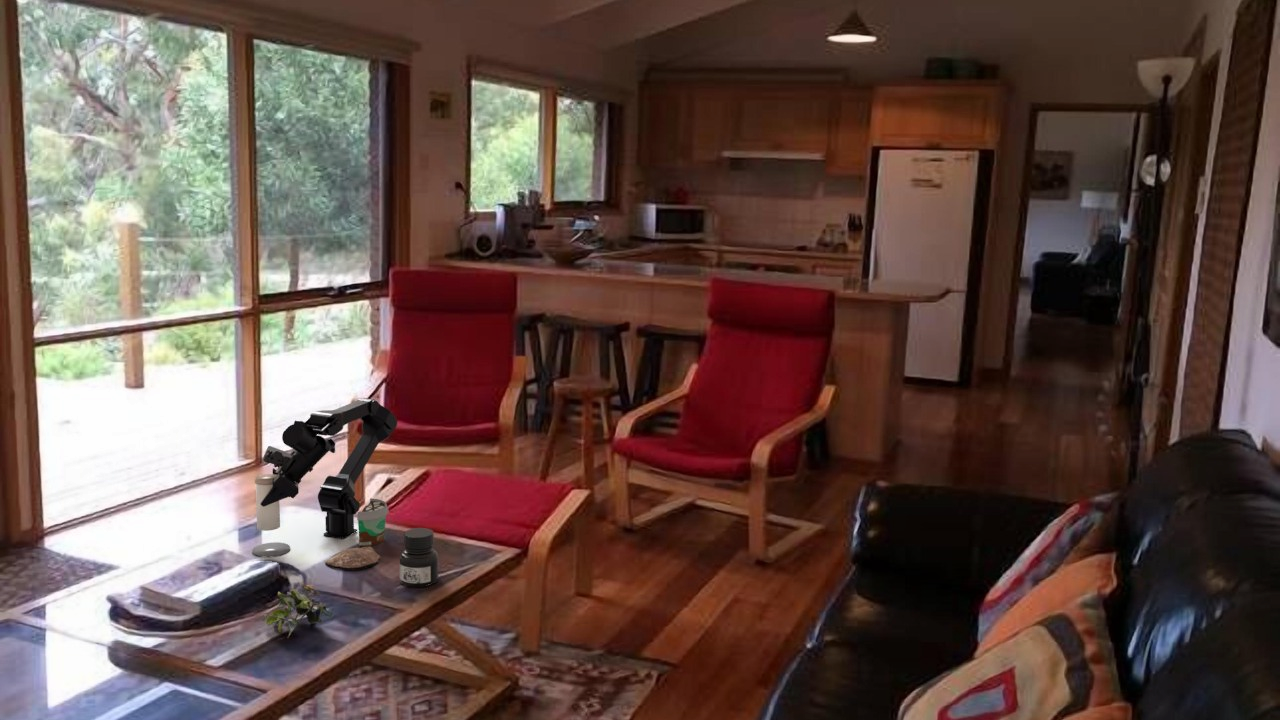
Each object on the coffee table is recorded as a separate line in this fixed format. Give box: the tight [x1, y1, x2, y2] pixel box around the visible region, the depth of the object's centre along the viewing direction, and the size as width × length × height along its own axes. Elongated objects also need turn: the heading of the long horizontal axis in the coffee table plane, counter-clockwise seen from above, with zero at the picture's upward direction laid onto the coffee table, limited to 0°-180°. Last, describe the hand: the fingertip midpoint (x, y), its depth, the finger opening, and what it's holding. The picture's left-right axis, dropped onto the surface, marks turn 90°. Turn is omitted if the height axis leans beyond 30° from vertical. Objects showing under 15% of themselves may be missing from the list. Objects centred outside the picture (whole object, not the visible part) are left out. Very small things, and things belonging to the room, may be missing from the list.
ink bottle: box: [399, 527, 439, 588], centre depth 244 cm, size 10×9×12 cm
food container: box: [356, 497, 390, 548], centre depth 268 cm, size 12×6×10 cm, turn 179°
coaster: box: [251, 541, 291, 558], centre depth 261 cm, size 9×9×1 cm
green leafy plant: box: [261, 584, 334, 639], centre depth 216 cm, size 11×11×12 cm
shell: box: [324, 547, 381, 571], centre depth 255 cm, size 12×13×4 cm
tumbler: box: [254, 473, 281, 532], centre depth 260 cm, size 6×6×13 cm
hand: (261, 501), depth 259 cm, fingers closed on tumbler, 5 cm apart
